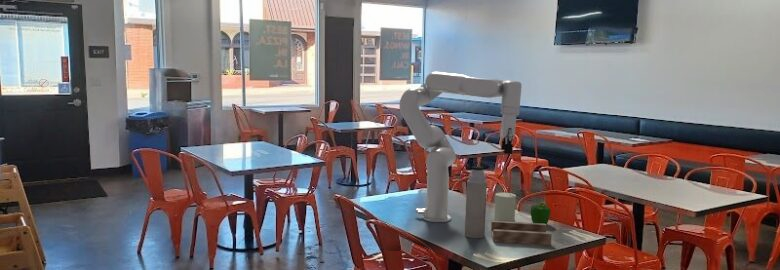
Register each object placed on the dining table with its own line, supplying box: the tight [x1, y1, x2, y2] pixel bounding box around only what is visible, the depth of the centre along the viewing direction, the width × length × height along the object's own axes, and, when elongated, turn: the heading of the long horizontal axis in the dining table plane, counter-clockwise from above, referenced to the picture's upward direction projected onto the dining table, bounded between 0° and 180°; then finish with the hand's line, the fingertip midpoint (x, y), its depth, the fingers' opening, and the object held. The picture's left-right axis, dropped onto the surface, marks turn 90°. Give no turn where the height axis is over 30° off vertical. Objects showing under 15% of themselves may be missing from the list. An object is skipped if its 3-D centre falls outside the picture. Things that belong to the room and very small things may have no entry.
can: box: [493, 192, 517, 222], centre depth 264 cm, size 9×9×12 cm
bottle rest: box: [490, 220, 552, 246], centre depth 237 cm, size 22×15×4 cm
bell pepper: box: [529, 201, 551, 225], centre depth 259 cm, size 8×8×10 cm
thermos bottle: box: [464, 165, 488, 239], centre depth 237 cm, size 8×8×28 cm
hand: (506, 151), depth 247 cm, fingers open, 9 cm apart
